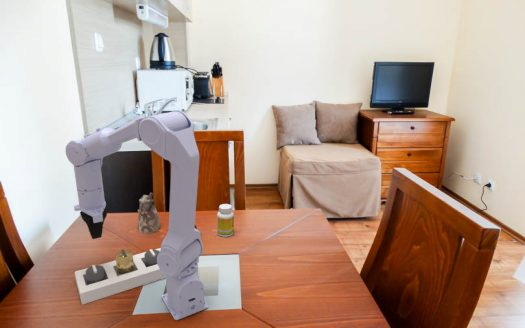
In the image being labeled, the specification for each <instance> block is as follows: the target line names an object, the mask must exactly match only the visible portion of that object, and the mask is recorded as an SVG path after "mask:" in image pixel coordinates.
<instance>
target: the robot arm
mask: <svg viewBox="0 0 525 328" xmlns="http://www.w3.org/2000/svg"><path fill="white" fill-rule="evenodd" d="M95 131H96V132H93V133H92V134H91V133H87V134H84V135H83V138H81V139H78V140H70V141H69V142H68V143H66V146H65V155H66V158H67V160H68V162H70V163H71V164H72V165H73V171H74V178H75V185H76V193H77V199H78V204H77V205H74V206H73V209H74V211H75V212H79V215H80V217H81V219H82V220H83V221H84V223H85V224H86V225H87V229H88V232H89V235H90V236H91V239H92V240H95V239H99V238H102V235H103V228H104V222H105V219H106V218H107V215H108V213H107V210H106V206H107V203H106V200H105V191H104V184H103V175H102V167H103V159H104V158H105V157H108V156H110V155H112V154H114V153H117V152H119V151H120V149H122V146H123V145H122V144H124V143H126V142H130V141H132V140H135V139H137V141H138V142H143V144H144V145H146V146H147V147H148V148H149V149H150V150H152V151H153V152H155V153H156V154H157V155H158V156H160V157H161V158H163V159H164V160H165V161H169V162H170V164H171V166H170V167H171V168H170V190H169V213H168V214H169V215H168V219H169V220H168V231H167V233H166V235H165V237H164V238H163V240H162V242H161V243H160V248H161V250H160V252H159V254H158V256H157V264H158V266H159V268H160V270H161V271H162V272H163V273H164V274H165V275H166V278H165V285H166V286H165V287H166V293H164V294H161V299H162V301H163V302H164V305H165V306H166V308H167V309H168V311H169V313H170V315H171V316H172V317H173V320H174V321H179V320H181V319H184V318H187V317H188V316H191V315H193V314H196V313H199V312H200V311H204V310H206V309H208V308H209V305H208V303H207V302H206V300H205V285H204V284H203V282H202V280H201V279H200V276H199V266H198V265H199V262H200V261H199V259H200V258H199V257H200V256H202V254H203V253H204V245H203V241H202V232H201V231H200V230H199V229H198V228H197V229H196V228H195V225H196V214H197V211H196V210H197V199H198V198H197V196H198V186H199V185H198V183H199V182H198V181H199V170H200V168H199V167H200V152H199V148H198V145H197V141H196V138H195V123H194V121H192V119H191V118H190V117H189V116H188V115H187V114H186V112H184V111H182V110H178V109H177V110H176V109H175V110H172V111H170V112H164V113H158V114H155V115H146V116H144V117H139V118H136V119H133V120H131V121H129V122H128V123H126V124H124V125H122V126H120V127H118V128H115V129H113V128H111V127H106V126H101V127H98V128H96V129H95Z"/></svg>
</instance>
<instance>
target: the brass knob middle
mask: <svg viewBox="0 0 525 328" xmlns="http://www.w3.org/2000/svg"><path fill="white" fill-rule="evenodd" d="M114 256H115V260H116V265H117V272H118V273H119V274H120V275H123V274H126V273H130V272H133V270H134V263H133V251H132V250H130V249H124V248H123V249H121V250H120V251H118V252H116V253H115V255H114Z"/></svg>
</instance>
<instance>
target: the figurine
mask: <svg viewBox="0 0 525 328" xmlns="http://www.w3.org/2000/svg"><path fill="white" fill-rule="evenodd" d="M153 196H154V193H153V192H149V194H148V195H147V194H143V195H142V196H141V197H140V199H139V200H138V202H139V209H137V212H138V217H137V218H138V221H137V231H138V233H140V234H143V235H144V234H147V235H149V234H154V233H156V232H158V231H160V230H159V229H160V228H161V218H160V215H159V212H158V210H157V208H156V201H155V199H154V198H153Z"/></svg>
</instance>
